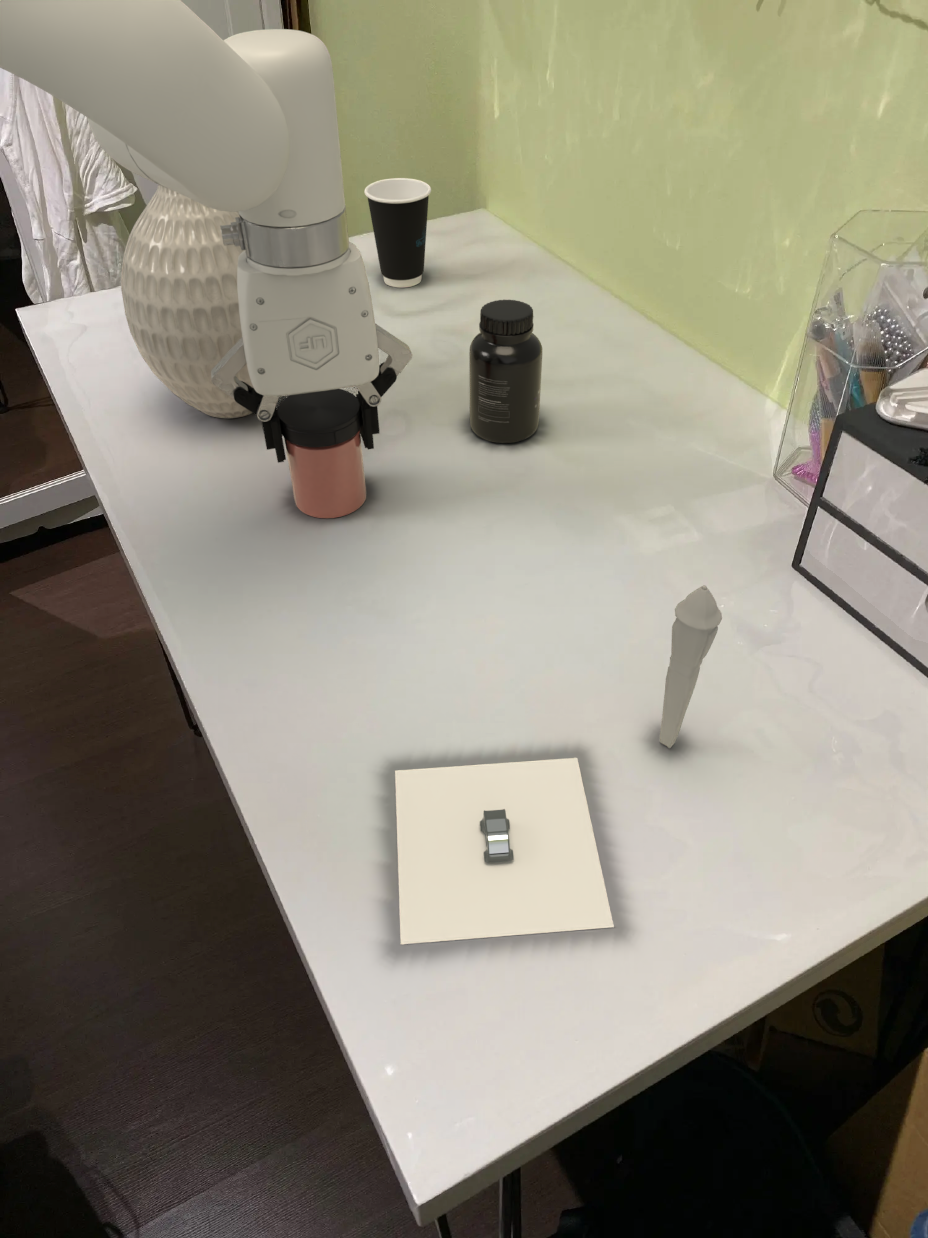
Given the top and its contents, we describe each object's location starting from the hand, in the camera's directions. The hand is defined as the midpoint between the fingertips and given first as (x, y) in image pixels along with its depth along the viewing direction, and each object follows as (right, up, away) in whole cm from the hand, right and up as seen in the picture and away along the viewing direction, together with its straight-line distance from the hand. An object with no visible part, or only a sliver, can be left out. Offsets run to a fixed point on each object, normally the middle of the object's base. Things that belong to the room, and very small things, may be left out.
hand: (323, 445), depth 77 cm
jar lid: (0, +2, -2) cm, 3 cm away
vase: (-12, +7, +16) cm, 21 cm away
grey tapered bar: (+26, -23, -17) cm, 38 cm away
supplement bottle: (+16, +4, +12) cm, 20 cm away
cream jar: (0, -4, +4) cm, 5 cm away
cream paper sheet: (+14, -29, -22) cm, 39 cm away
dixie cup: (+4, +28, +38) cm, 47 cm away
